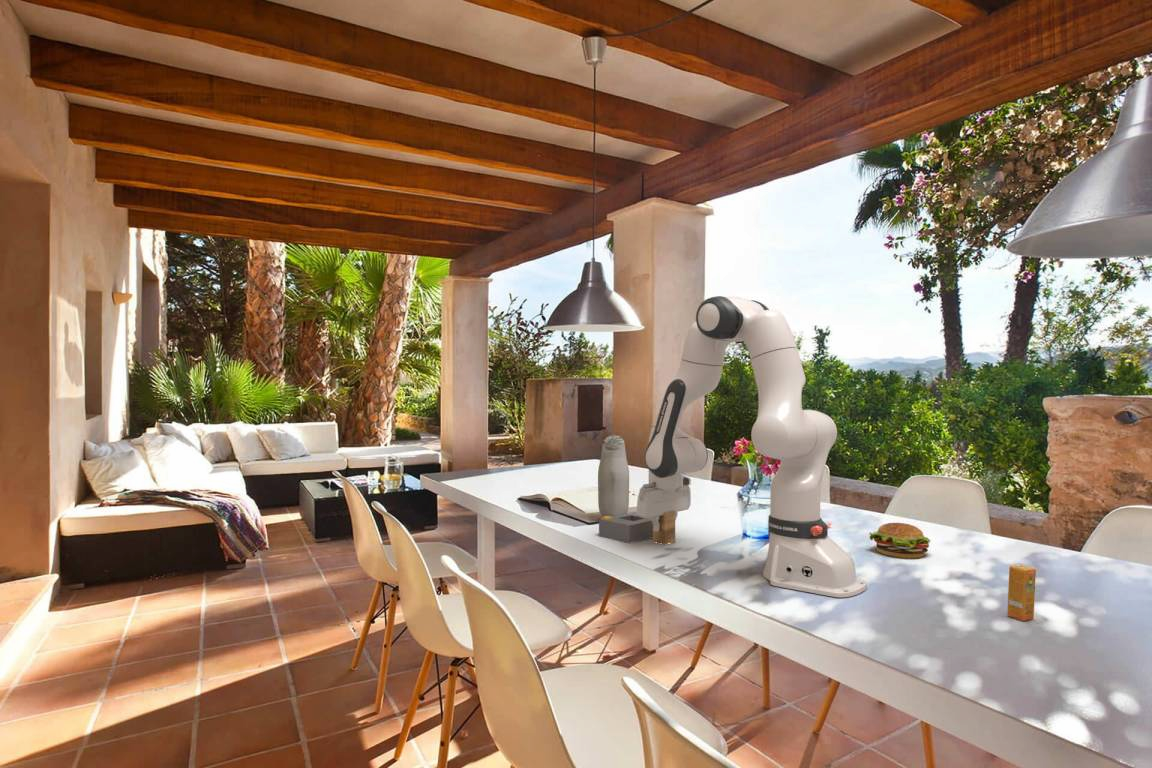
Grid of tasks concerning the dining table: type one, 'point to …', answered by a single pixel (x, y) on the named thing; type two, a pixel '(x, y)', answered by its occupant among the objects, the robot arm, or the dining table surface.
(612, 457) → the gray bottle
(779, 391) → the robot arm
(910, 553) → the food
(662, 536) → the oak peg
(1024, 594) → the supplement box
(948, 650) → the dining table surface
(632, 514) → the socket block
